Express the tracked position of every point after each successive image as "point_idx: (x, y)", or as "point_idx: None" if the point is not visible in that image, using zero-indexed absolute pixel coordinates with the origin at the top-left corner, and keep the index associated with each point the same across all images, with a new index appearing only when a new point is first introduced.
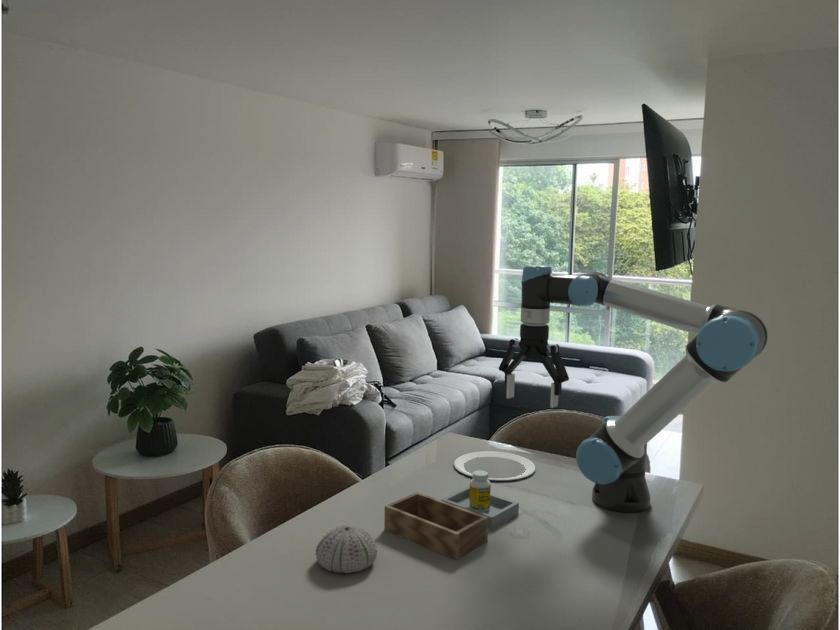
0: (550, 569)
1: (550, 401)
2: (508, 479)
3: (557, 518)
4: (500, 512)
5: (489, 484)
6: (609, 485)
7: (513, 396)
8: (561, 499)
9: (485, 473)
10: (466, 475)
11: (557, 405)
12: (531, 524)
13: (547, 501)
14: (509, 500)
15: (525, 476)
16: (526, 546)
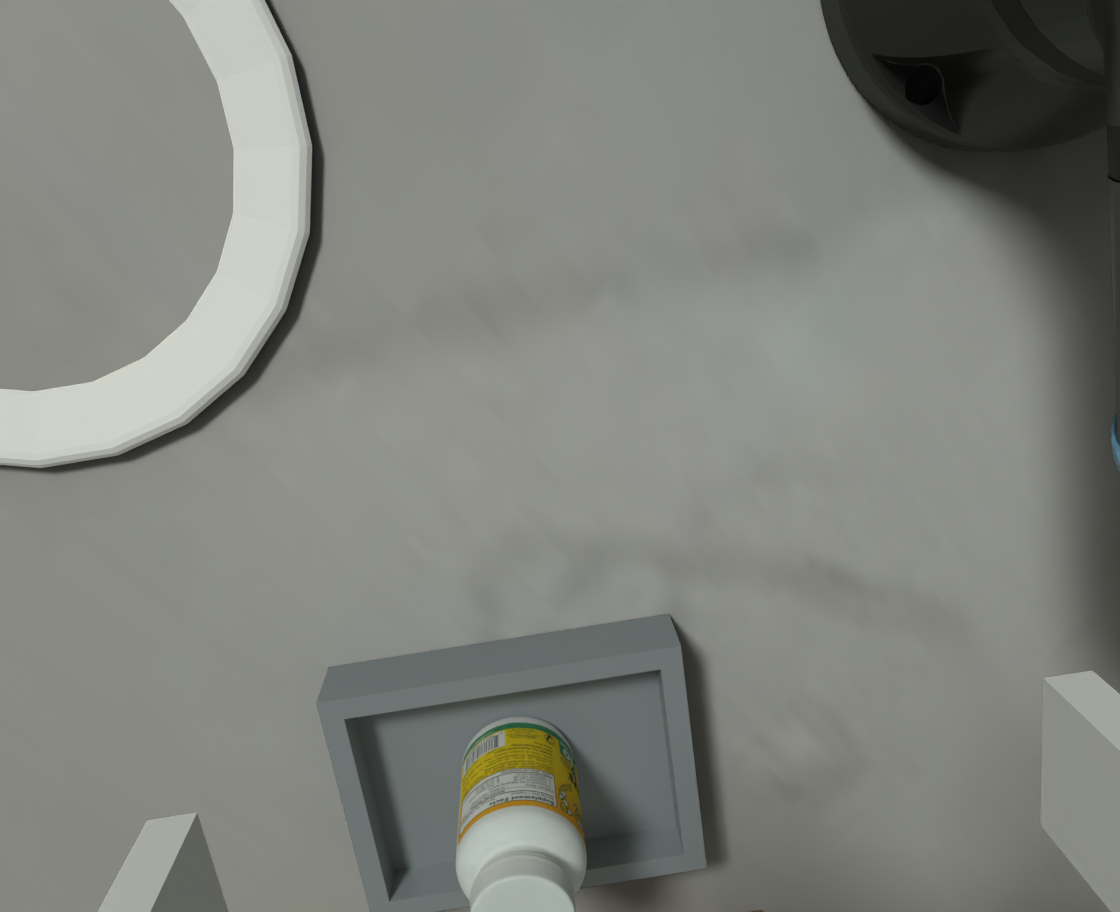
0: None
1: (1103, 900)
2: (283, 307)
3: (849, 493)
4: (695, 801)
5: (581, 848)
6: (1083, 111)
7: (199, 836)
8: (711, 255)
9: (552, 903)
10: (43, 463)
11: (1098, 688)
12: (793, 649)
13: (671, 352)
14: (622, 662)
15: (308, 155)
16: (909, 819)
